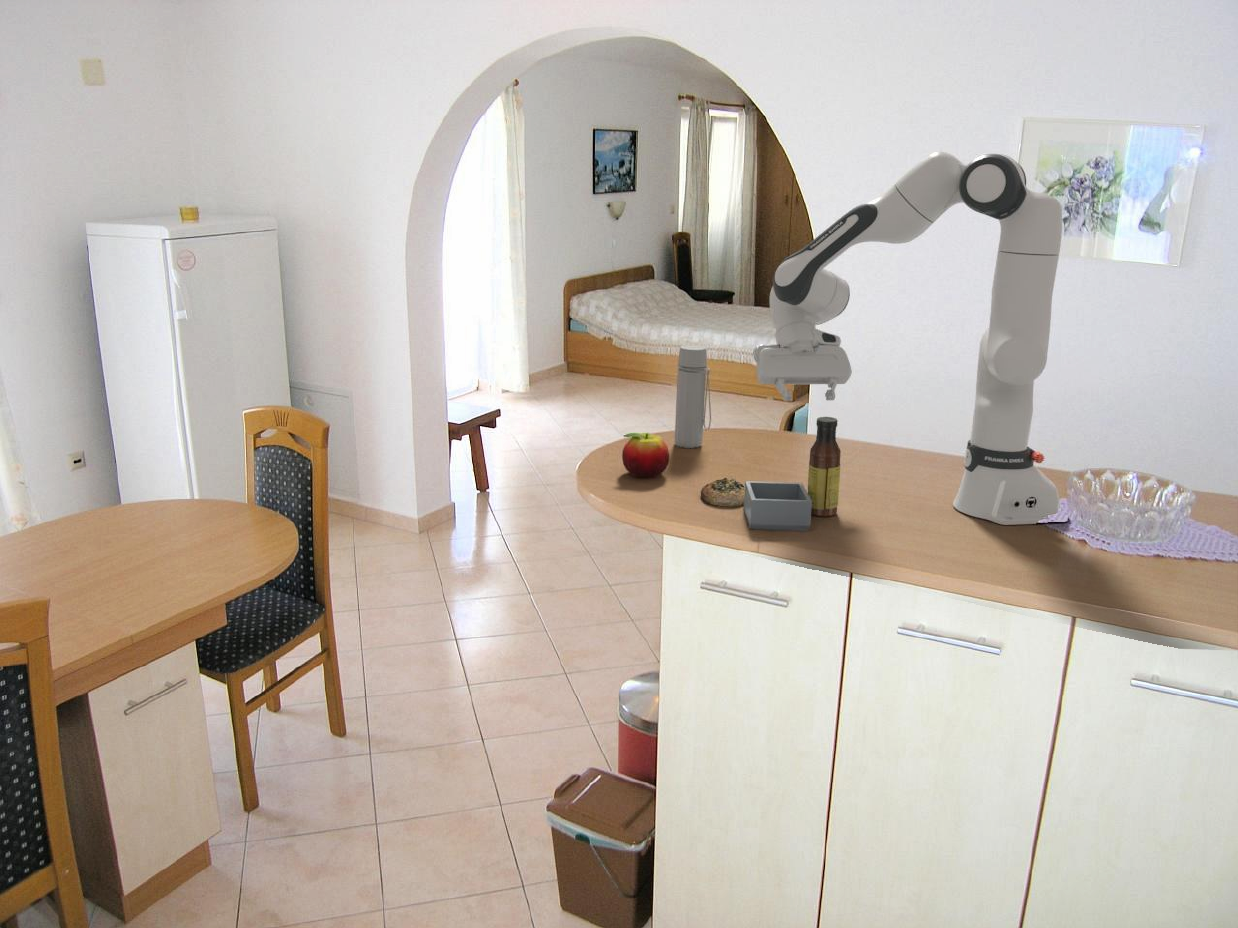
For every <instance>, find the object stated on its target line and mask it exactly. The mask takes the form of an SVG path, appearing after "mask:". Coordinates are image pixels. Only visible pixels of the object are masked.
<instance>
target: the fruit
mask: <svg viewBox="0 0 1238 928" xmlns="http://www.w3.org/2000/svg"><path fill="white" fill-rule="evenodd" d="M623 437H624V438H630V439H628V440H627V441H626V443H625V444H624V446H623V449H622V454H621V457H622V458H621V459H622V464H623V467H624V468H625V470H626V471H627V473H629V474H630V475H632V476H633V477H635V478H641V479H652V478H653V479H654V478H657V477H659V476H660V475H661V474H663V472H664V471H665V470H666V469H667V467H668V465H669V462H670V453H669V447H668V445H667V444H666V442H665V440H664V439H663V438H662V437H661V436H659V435H656V434H653V433H652V434H651V433H649V432H640V433H639V432H630V433H626V434H625V435H623Z"/></svg>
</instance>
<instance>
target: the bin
mask: <svg viewBox="0 0 1238 928" xmlns="http://www.w3.org/2000/svg"><path fill="white" fill-rule="evenodd" d="M744 487H745V493H744V504H743V511H744V515H745V518H746V521H747V524H748V525H747V526H748V527H749V529H750V530H764V531H765V530H768V531H769V530H770V531H774V530H775V531H796V532H797V531H799V532H800V531H803V532H810V528H811V518H812V514H811V508H812V501H811V499H810V497H809V495H808V490H807V489H806V488H805V485H804V483H803V482H782V481H781V482H780V481H754V480H753V481H752V480H751V481H748V480H746V481H745V483H744Z"/></svg>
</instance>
